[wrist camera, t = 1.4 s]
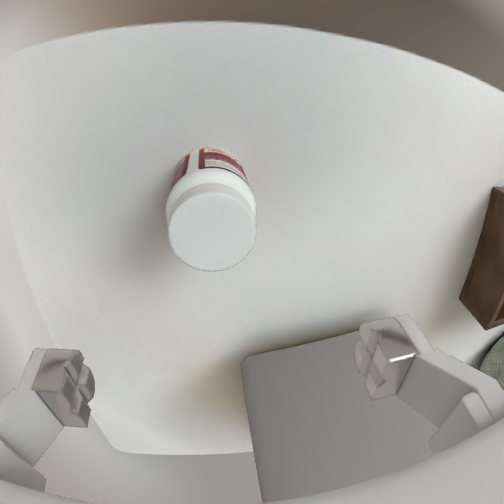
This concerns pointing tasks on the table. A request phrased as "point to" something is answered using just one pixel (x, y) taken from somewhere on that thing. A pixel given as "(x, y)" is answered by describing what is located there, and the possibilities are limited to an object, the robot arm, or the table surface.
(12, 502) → the robot arm
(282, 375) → the alarm clock
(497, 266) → the holder
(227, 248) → the pill bottle
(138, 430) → the table surface
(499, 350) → the planter
